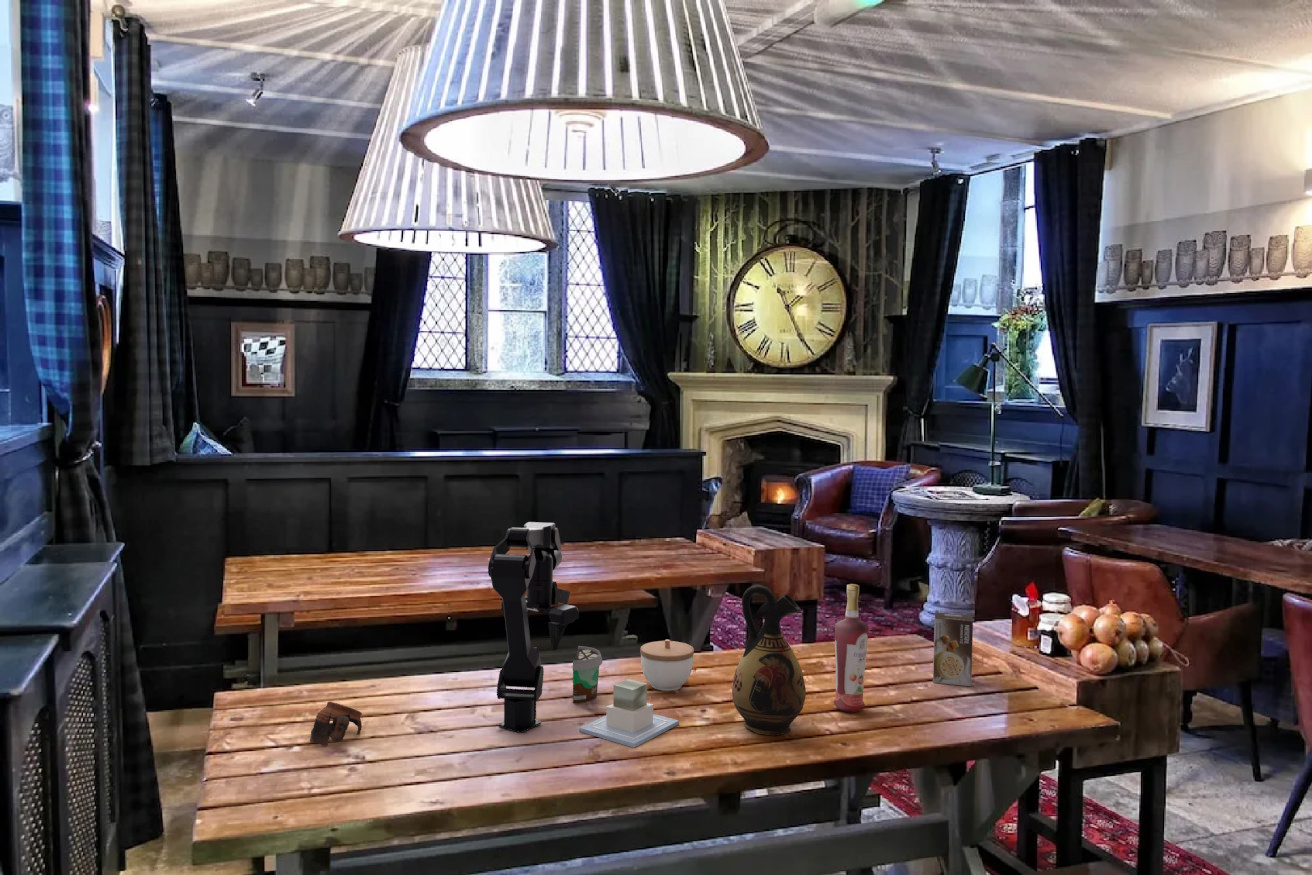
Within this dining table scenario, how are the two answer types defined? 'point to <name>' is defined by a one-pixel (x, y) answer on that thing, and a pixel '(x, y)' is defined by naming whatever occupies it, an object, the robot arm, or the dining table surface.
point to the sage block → (630, 695)
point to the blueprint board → (627, 740)
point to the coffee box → (953, 649)
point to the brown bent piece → (334, 723)
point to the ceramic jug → (768, 669)
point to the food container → (586, 674)
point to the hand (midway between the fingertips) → (539, 646)
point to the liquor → (850, 655)
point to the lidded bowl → (666, 664)
